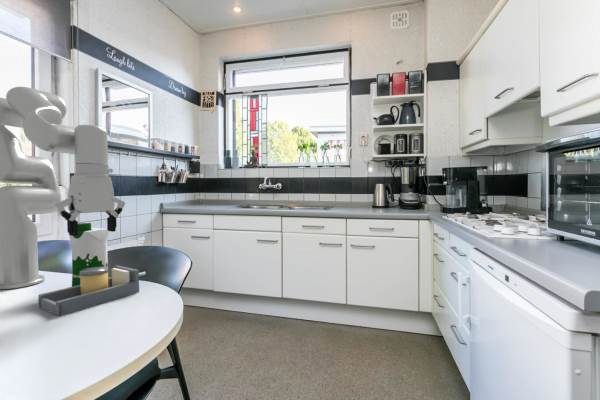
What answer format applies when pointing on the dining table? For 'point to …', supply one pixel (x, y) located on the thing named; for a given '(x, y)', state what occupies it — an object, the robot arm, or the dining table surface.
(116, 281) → the pusher
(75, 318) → the dining table surface
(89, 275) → the honey jar
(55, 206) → the robot arm
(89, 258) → the milk carton
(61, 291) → the grey open rectangular box
